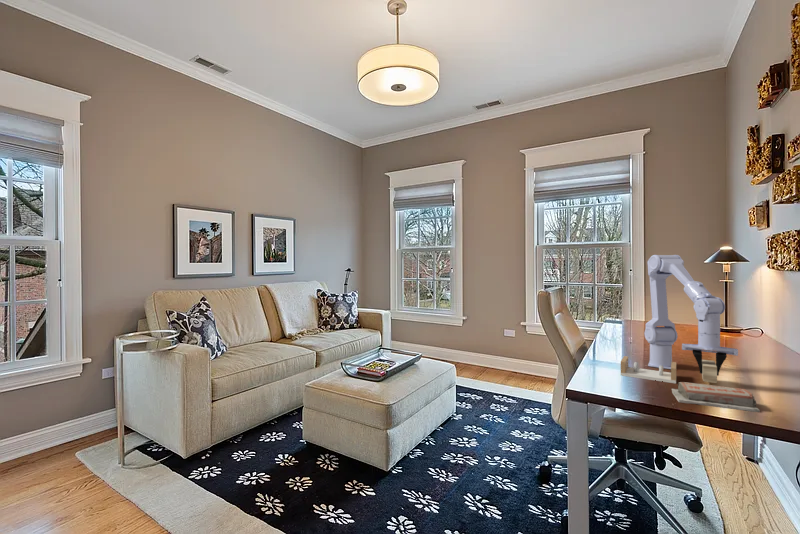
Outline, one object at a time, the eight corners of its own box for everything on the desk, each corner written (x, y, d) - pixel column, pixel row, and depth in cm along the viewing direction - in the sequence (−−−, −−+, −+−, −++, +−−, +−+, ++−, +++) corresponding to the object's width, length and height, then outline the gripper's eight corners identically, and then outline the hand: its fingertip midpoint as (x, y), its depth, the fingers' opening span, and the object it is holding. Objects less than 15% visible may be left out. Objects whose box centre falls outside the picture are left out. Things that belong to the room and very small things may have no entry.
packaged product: (745, 385, 111) (760, 396, 102) (745, 402, 111) (760, 414, 102) (671, 378, 118) (678, 387, 109) (670, 393, 118) (678, 404, 109)
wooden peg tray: (624, 368, 146) (624, 355, 146) (676, 376, 136) (676, 362, 136) (620, 375, 137) (620, 361, 137) (676, 383, 127) (676, 368, 127)
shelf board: (701, 373, 133) (701, 359, 133) (714, 375, 131) (714, 360, 131) (703, 381, 124) (703, 365, 124) (717, 383, 122) (717, 367, 122)
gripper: (682, 332, 128) (682, 372, 128) (739, 337, 120) (739, 380, 120) (682, 330, 134) (681, 368, 134) (736, 334, 125) (736, 375, 125)
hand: (708, 373), depth 127 cm, fingers closed on shelf board, 3 cm apart
